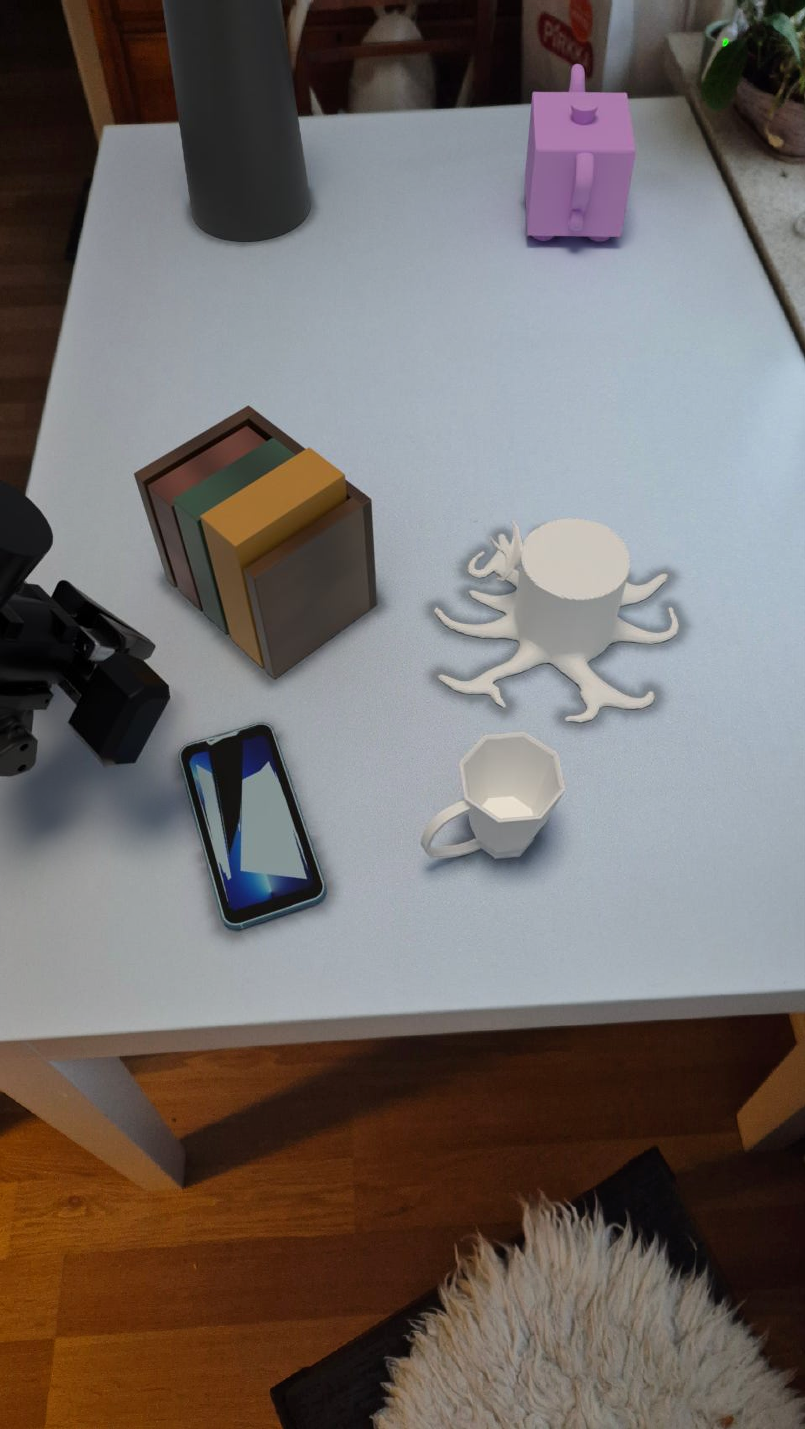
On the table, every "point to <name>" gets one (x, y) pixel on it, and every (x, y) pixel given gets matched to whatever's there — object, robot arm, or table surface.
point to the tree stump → (561, 608)
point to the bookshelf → (288, 580)
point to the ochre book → (265, 530)
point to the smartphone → (250, 826)
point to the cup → (502, 796)
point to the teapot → (578, 162)
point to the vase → (237, 117)
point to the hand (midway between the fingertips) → (150, 648)
